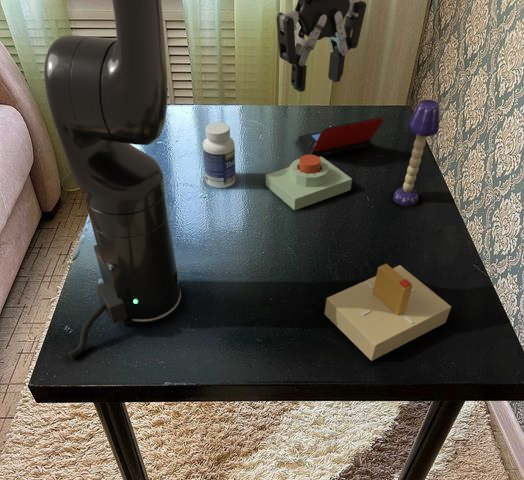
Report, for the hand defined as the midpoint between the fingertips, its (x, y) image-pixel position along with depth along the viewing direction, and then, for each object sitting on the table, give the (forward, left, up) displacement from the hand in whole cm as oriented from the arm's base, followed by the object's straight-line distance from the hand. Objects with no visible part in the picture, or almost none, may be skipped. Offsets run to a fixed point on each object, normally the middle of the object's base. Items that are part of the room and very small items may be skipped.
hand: (316, 84), depth 81 cm
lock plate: (-10, -32, -18) cm, 38 cm away
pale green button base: (0, 0, -18) cm, 18 cm away
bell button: (0, 0, -14) cm, 14 cm away
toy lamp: (+12, -12, -18) cm, 25 cm away
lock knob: (-10, -32, -15) cm, 37 cm away
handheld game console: (+13, +9, -18) cm, 24 cm away
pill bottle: (-12, +10, -18) cm, 24 cm away
